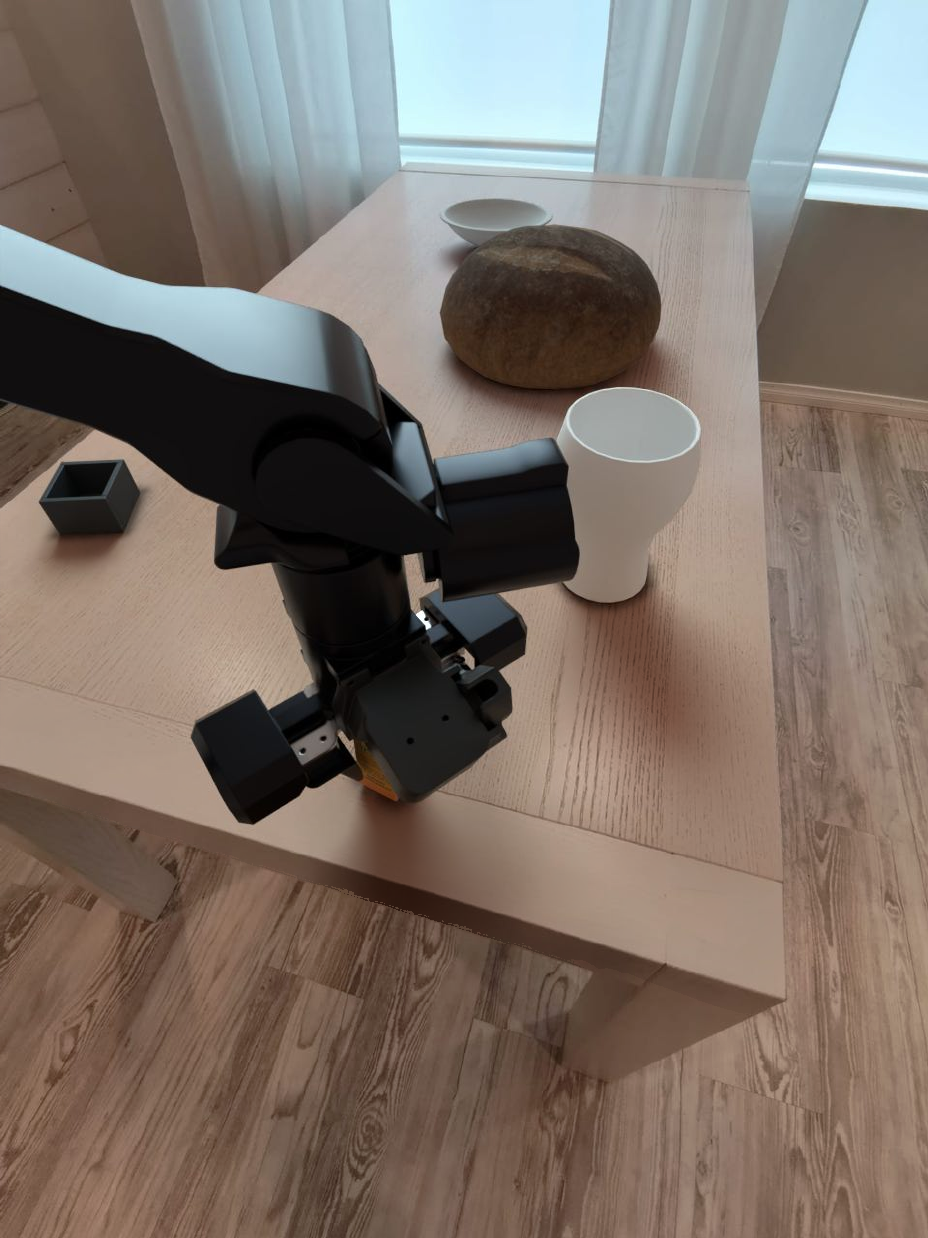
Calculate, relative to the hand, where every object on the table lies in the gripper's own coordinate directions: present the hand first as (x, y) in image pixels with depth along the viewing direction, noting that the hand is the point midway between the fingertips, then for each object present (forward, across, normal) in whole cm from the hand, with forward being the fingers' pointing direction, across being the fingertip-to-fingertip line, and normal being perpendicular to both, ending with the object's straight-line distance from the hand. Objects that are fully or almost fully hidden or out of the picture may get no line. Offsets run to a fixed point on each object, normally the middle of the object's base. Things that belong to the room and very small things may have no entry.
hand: (387, 756), depth 43 cm
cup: (+3, +26, +6) cm, 26 cm away
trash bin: (+3, -8, +41) cm, 42 cm away
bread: (+4, +48, +40) cm, 63 cm away
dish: (+4, +62, +69) cm, 93 cm away
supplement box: (+3, 0, 0) cm, 3 cm away
